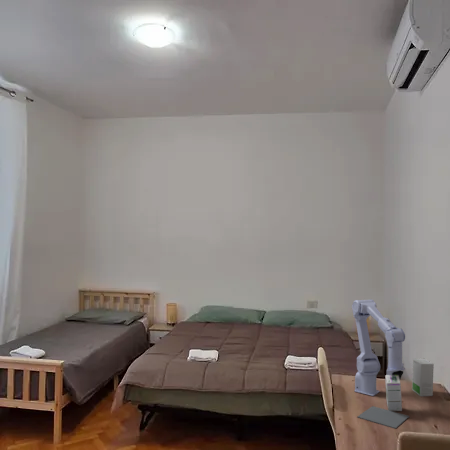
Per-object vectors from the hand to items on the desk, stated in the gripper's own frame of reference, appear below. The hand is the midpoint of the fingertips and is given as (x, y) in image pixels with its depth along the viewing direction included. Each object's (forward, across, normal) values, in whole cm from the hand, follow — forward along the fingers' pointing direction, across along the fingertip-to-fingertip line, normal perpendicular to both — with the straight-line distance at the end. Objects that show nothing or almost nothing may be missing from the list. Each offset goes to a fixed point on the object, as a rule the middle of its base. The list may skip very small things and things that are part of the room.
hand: (395, 387), depth 199 cm
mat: (+9, -13, 0) cm, 16 cm away
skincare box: (+9, +26, -3) cm, 28 cm away
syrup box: (+8, -2, 0) cm, 8 cm away
